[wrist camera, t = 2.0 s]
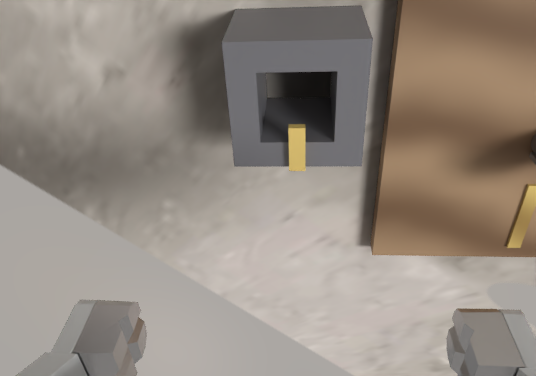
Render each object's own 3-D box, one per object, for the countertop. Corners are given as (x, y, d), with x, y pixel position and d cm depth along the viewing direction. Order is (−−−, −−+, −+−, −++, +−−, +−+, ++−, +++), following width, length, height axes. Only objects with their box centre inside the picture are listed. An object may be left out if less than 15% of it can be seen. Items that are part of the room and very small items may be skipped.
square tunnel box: (235, 9, 24) (220, 45, 20) (361, 5, 24) (373, 42, 19) (244, 119, 28) (233, 170, 24) (353, 119, 27) (362, 170, 23)
